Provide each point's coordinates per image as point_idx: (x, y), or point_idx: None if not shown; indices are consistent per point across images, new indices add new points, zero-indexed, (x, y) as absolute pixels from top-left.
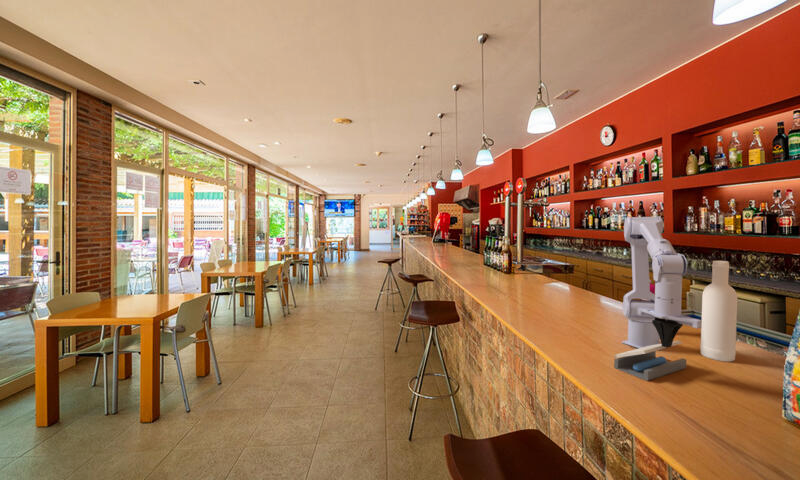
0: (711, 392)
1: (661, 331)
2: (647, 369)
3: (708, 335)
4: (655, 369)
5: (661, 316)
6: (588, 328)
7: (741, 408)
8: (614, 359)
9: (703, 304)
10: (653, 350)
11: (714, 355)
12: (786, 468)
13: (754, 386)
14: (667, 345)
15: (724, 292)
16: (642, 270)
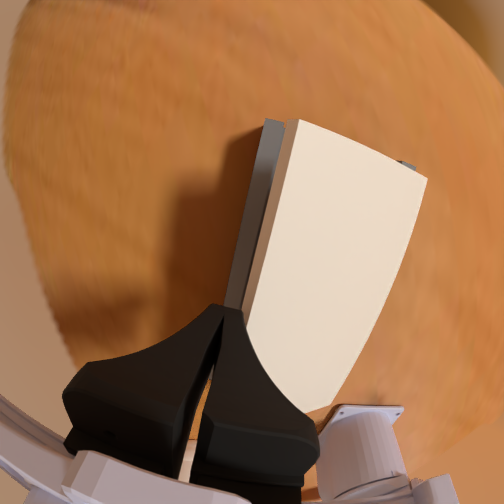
0: (106, 214)
1: (223, 366)
2: (276, 146)
3: None
4: (251, 178)
5: (80, 488)
6: (466, 418)
7: (50, 170)
8: (415, 167)
9: None
10: (266, 217)
11: (192, 448)
12: (22, 16)
13: (83, 340)
14: (206, 309)
15: None
16: None
